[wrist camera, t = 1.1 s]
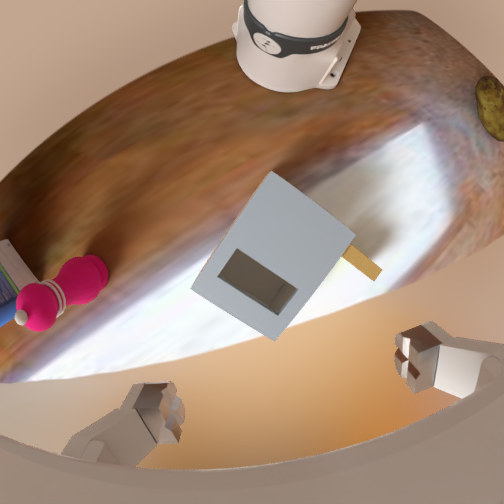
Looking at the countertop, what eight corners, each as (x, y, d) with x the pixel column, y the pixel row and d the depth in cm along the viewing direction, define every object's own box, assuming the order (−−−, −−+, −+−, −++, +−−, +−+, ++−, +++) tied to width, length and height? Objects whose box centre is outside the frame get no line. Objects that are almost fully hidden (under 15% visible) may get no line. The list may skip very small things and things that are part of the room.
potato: (480, 145, 38) (507, 141, 30) (460, 82, 35) (485, 71, 28) (501, 141, 38) (527, 139, 30) (483, 83, 35) (506, 74, 27)
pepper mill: (72, 279, 43) (-3, 325, 23) (83, 243, 41) (0, 277, 22) (104, 300, 43) (36, 360, 24) (117, 264, 42) (41, 313, 22)
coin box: (265, 175, 40) (271, 170, 30) (332, 224, 41) (356, 234, 31) (203, 266, 42) (190, 288, 32) (269, 309, 44) (274, 341, 34)
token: (338, 237, 42) (352, 245, 36) (366, 259, 42) (382, 269, 36) (330, 248, 42) (343, 257, 36) (358, 269, 43) (373, 281, 37)
